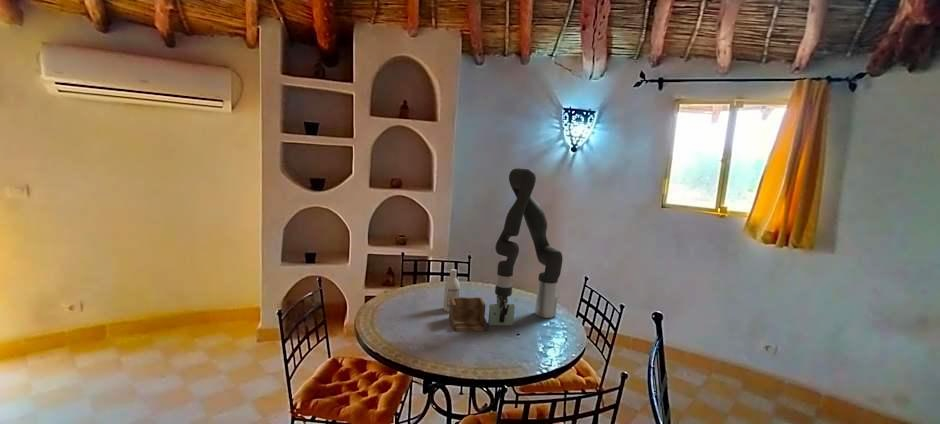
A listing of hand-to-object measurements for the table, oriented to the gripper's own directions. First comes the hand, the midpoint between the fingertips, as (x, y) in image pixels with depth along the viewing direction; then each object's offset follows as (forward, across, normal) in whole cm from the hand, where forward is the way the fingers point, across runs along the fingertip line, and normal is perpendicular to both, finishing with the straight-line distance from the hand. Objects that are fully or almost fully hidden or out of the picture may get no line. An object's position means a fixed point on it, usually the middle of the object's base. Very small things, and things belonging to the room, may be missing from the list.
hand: (500, 320), depth 229 cm
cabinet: (+2, 0, +15) cm, 16 cm away
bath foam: (+2, +17, +20) cm, 27 cm away
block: (+2, 0, 0) cm, 2 cm away
